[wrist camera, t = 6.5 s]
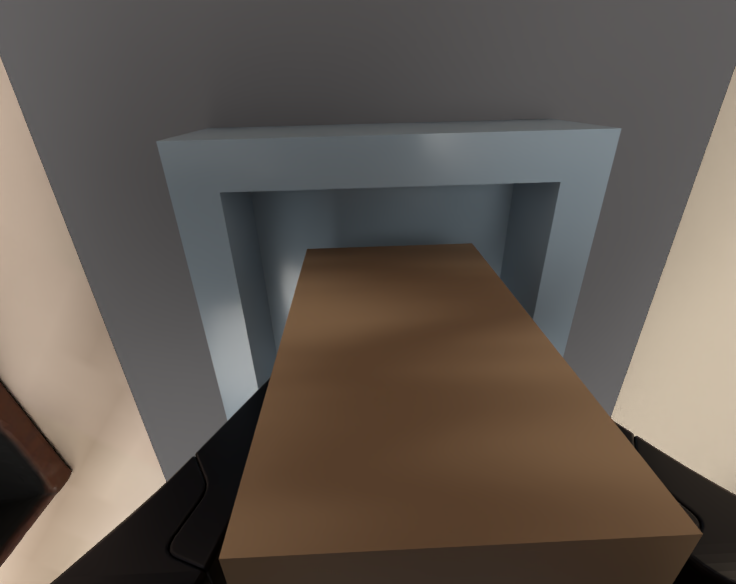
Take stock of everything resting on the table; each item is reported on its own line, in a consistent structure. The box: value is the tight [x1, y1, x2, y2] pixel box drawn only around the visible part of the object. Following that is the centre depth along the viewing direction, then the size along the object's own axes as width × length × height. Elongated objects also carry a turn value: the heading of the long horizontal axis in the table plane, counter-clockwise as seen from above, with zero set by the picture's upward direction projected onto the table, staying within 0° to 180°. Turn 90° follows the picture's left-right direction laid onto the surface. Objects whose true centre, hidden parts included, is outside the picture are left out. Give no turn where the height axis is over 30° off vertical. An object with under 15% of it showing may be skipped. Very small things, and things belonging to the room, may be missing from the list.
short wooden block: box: [219, 243, 703, 584], centre depth 7 cm, size 4×5×7 cm
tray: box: [156, 119, 622, 421], centre depth 11 cm, size 9×10×3 cm
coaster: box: [0, 0, 736, 482], centre depth 13 cm, size 18×18×1 cm
